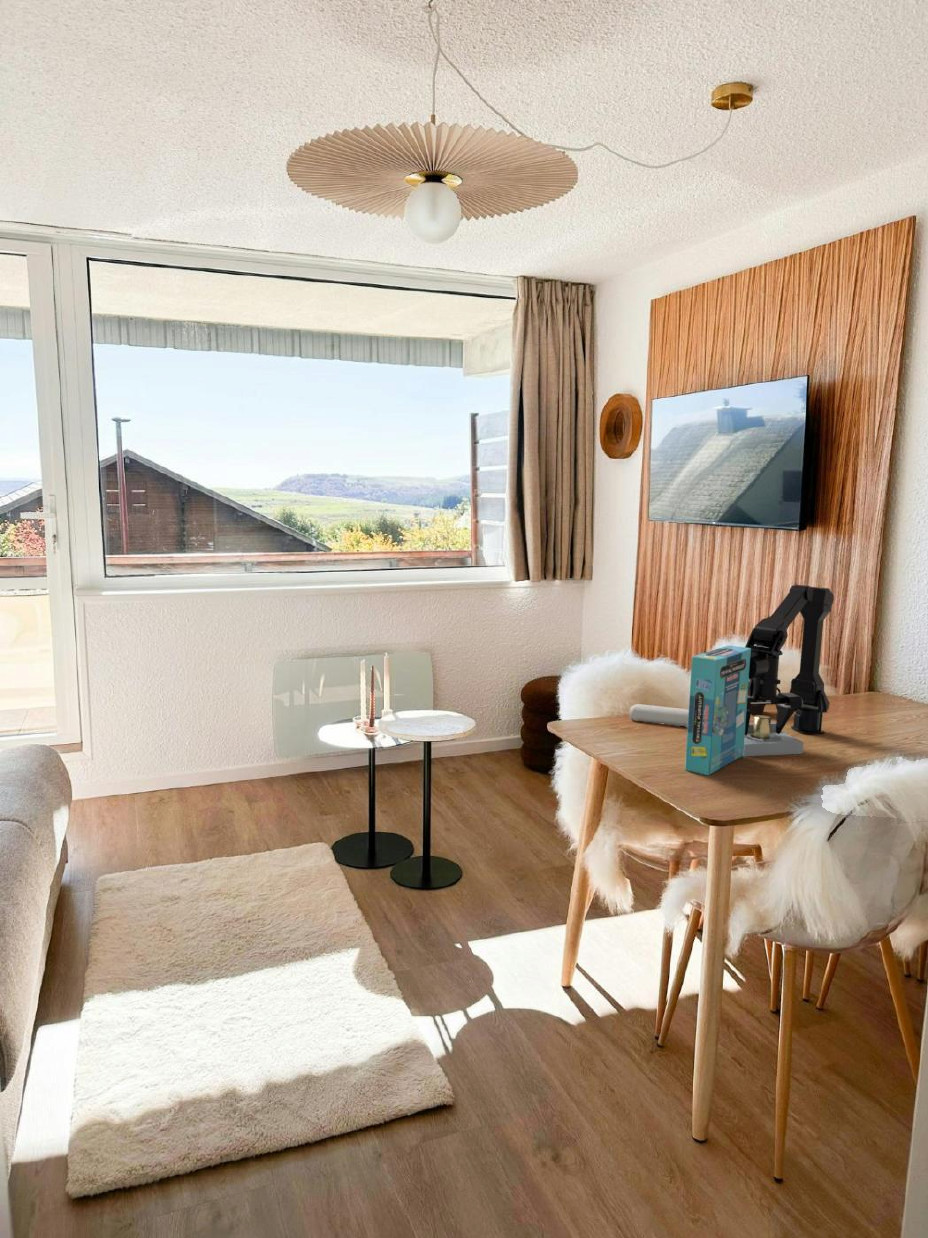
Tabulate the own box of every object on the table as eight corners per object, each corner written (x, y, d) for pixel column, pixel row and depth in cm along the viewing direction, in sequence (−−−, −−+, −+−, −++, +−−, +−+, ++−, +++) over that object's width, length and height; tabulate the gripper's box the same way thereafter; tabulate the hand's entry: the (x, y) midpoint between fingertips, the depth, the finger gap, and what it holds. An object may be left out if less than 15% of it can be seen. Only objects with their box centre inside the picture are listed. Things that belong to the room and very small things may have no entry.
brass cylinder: (763, 745, 223) (765, 715, 222) (771, 750, 219) (774, 719, 218) (749, 746, 222) (751, 715, 221) (757, 750, 218) (759, 719, 217)
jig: (775, 740, 228) (777, 721, 227) (802, 753, 216) (804, 734, 216) (720, 742, 225) (721, 723, 224) (744, 756, 213) (745, 736, 212)
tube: (627, 708, 243) (719, 719, 233) (631, 699, 247) (721, 708, 237) (627, 725, 245) (718, 735, 235) (632, 715, 250) (721, 725, 240)
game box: (719, 751, 217) (726, 644, 213) (744, 756, 213) (751, 648, 209) (683, 770, 201) (690, 655, 197) (709, 776, 197) (717, 659, 193)
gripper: (781, 666, 228) (776, 724, 230) (716, 668, 224) (712, 727, 226) (806, 675, 217) (801, 736, 219) (738, 677, 213) (734, 739, 215)
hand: (761, 734), depth 220 cm, fingers open, 9 cm apart
